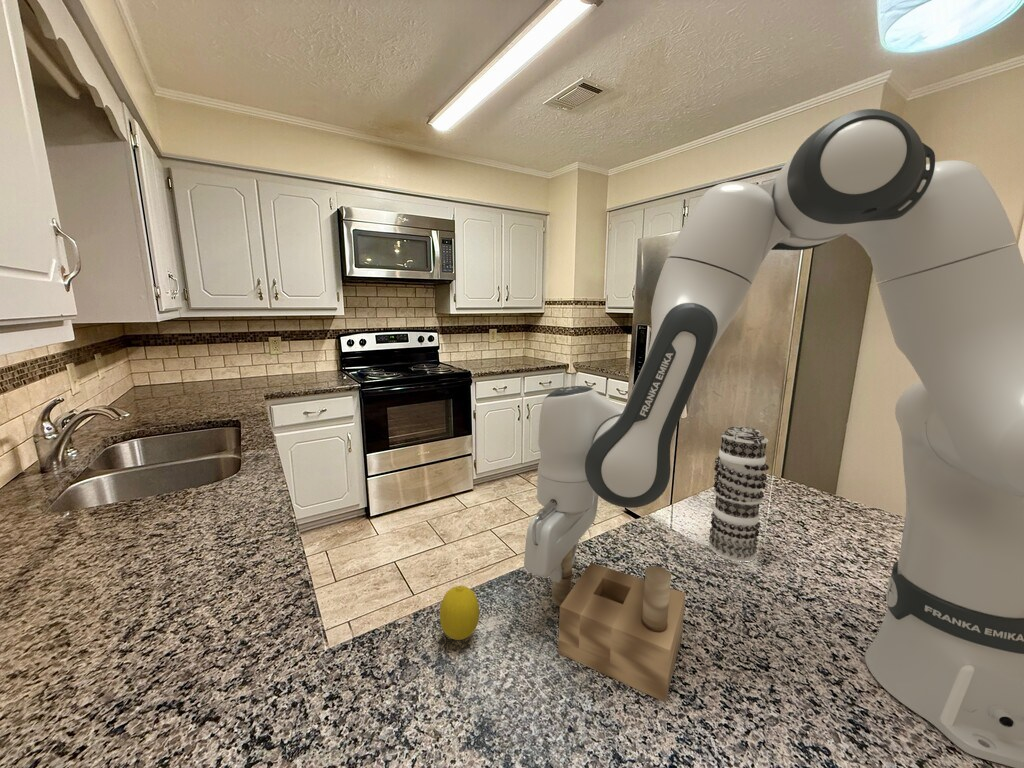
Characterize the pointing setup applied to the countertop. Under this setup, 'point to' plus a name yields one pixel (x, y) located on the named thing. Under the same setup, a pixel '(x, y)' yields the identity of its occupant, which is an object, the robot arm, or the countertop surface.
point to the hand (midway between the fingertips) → (562, 571)
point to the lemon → (459, 612)
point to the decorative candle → (738, 493)
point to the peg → (563, 581)
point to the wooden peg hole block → (624, 626)
